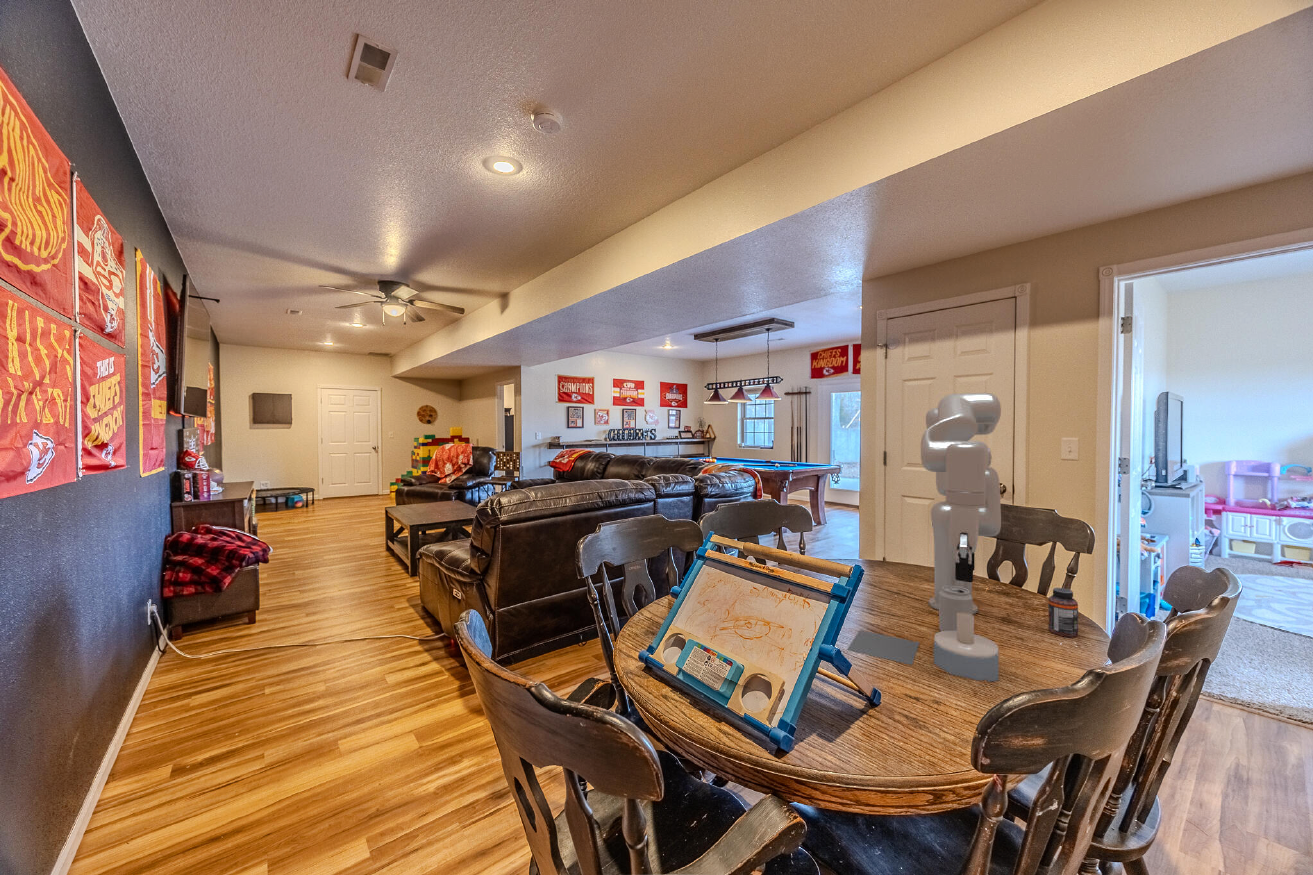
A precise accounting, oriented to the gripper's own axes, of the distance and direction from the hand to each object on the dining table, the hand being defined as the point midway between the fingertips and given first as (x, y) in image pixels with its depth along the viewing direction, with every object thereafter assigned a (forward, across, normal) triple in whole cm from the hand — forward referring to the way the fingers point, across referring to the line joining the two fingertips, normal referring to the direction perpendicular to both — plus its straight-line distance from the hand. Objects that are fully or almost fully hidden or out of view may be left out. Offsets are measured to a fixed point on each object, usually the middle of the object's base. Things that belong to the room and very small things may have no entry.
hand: (965, 575), depth 110 cm
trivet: (+21, 0, -17) cm, 27 cm away
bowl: (+21, +1, 0) cm, 21 cm away
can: (+21, -19, -3) cm, 29 cm away
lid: (+16, +1, 0) cm, 16 cm away
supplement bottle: (+22, -35, +20) cm, 46 cm away
